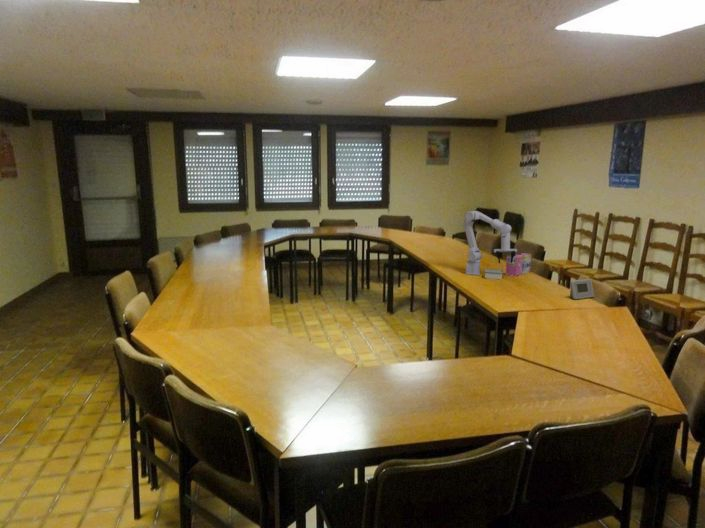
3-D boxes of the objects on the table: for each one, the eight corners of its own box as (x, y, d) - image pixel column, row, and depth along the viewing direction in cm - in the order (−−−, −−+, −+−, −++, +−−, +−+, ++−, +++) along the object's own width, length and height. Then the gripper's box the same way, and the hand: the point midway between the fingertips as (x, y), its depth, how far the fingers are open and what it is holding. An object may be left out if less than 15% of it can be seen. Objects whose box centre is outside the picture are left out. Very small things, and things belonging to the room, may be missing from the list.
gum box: (521, 270, 351) (522, 251, 348) (531, 271, 345) (533, 253, 343) (504, 275, 334) (506, 255, 332) (515, 276, 329) (517, 257, 326)
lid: (484, 272, 321) (485, 266, 320) (484, 269, 329) (485, 264, 328) (506, 274, 317) (506, 268, 316) (505, 271, 325) (506, 265, 325)
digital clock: (573, 300, 273) (575, 282, 270) (563, 296, 281) (565, 278, 279) (598, 299, 276) (600, 281, 274) (587, 295, 285) (589, 277, 283)
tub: (484, 278, 322) (485, 272, 321) (484, 276, 330) (485, 270, 329) (501, 280, 319) (502, 274, 318) (501, 277, 327) (502, 271, 326)
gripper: (494, 243, 316) (494, 263, 318) (517, 243, 313) (517, 263, 315) (493, 242, 323) (493, 262, 325) (516, 242, 320) (516, 262, 322)
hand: (505, 262), depth 321 cm, fingers open, 7 cm apart
